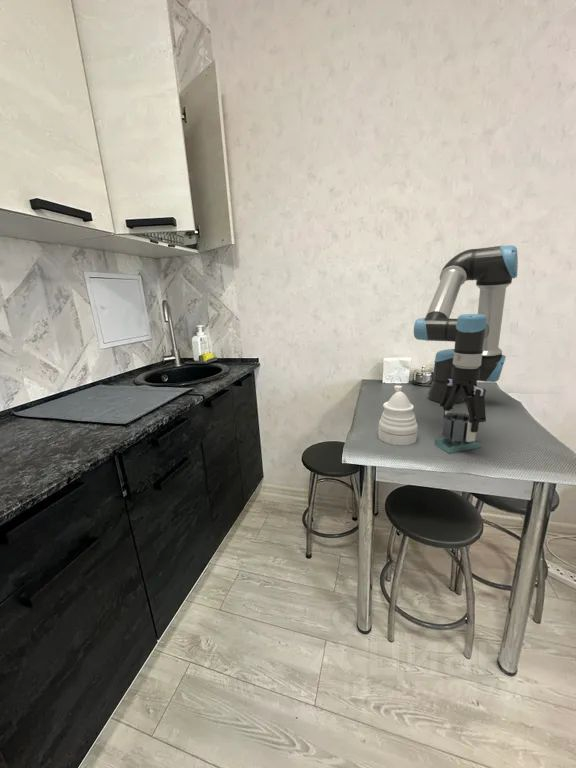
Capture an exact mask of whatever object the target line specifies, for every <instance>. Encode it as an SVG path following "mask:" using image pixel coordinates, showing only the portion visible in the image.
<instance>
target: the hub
mask: <svg viewBox="0 0 576 768" xmlns="http://www.w3.org/2000/svg"><path fill="white" fill-rule="evenodd" d="M455 419H463V420H465V421H460V420H455ZM468 421H471V420H470V416H469V414H467V413H461V412H453V413H447V414H445V416H444V415H443V422H442V423H443V425H442V434H441V435H443V436H444V437H447V438H449V439H452V440H456V441H462V442H463V441H465V442H466V435H467V427H468Z"/></svg>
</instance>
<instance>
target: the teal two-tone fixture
mask: <svg viewBox="0 0 576 768" xmlns="http://www.w3.org/2000/svg"><path fill="white" fill-rule="evenodd" d="M455 420H460V421H465V420H463V419H455ZM434 445H435V446H436V447H438V448H439V449H441V450H442V451H444V452H446V453H447V454H452V453H458V452H463V451H470V450H474V449H480V448H481V446H482V441H480V440H478V439H477V438H475V441H470V442H467V441H466V442H465V441H463V442H462V441H456V440H452V439H449V438H447V437H445V436H444V437H439V438H434Z"/></svg>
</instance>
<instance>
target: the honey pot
mask: <svg viewBox="0 0 576 768" xmlns="http://www.w3.org/2000/svg"><path fill="white" fill-rule="evenodd" d="M393 389H394V391H395V393H394V394H392V396H391V397H390V399H389V400H388V401H386V402H384V403H383V405H382V406H383V408H384V410H383V411H382V414H381V417H380V419H379V421H378V428H377V429H378V431H377V437H378V438H379V439H380V441H382V442H383V443H386V444H391V445H393V446H394V445H396V446H408V445H409V446H410V445H413V444H415V443H416V442H417V441H418V440H417V439H418V429H419V428H418V427H419V426H418V423H417V420H416V414H415V412H414V408H415V407H414V405H413V404H412V403H411V402H410V400H409V398H408V396H407V395H406V393H404V392H403V391H402V389H403V386H402V385H394V388H393Z"/></svg>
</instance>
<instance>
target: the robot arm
mask: <svg viewBox="0 0 576 768" xmlns="http://www.w3.org/2000/svg"><path fill="white" fill-rule="evenodd" d="M518 260H519V258H518V248H517V247H516V245H499V246H498V245H497V246H491V247H490V246H489V247H479V248H469V249H466V250H464V251H462V252H459V253H457V255H455V256H453V257H452V258H451V259H450V260H449V261H448V262H447V263H445V265H444V266H443V268H442V269H441V272H440V274H439V284H438V286H437V288H436V290H435V293H434V295H433V298H432V301H431V302H430V305H429V308H428V310H427V313H426V315H425V317H422V318H420V317H419V318H417V319H416V320H415V322H414V325H413V337H414V339H416V340H418V341H419V340H420V341H426V342H429V341H431V342H433V341H434V342H453V343H454V348H450V349H449V348H448V349H443V350H438V351H437V352H436V353H435V357H434V367H433V378H432V383H431V386H430V389H429V391H428V393H427V399H429V400H430V401H431V402H435V403H439V407H442V409H443V417H444V416H445V414H447V413H455V411H454V410H453V409H454V406H455V404H461V403H463V402H464V401H465V404H466V409H467V411H468V415H469V416H470V420H471V421H468V427H467V435H466V441H467V442H470V441H475V439H476V437H477V436H476V435H477V433H478V431H479V425H480V423H484V422H485V423H486V421H487V415H486V403H485V402H486V401H485V395H486V392H487V391H486V390H487V389H485V388H480V387H478V383H477V382H484V383H488V382H489V383H495V382H498V381H499V380H500V377H501V374H502V370H503V367H504V364H505V360H506V355H504V354H503V350H502V349H501V348H500V339H501V329H502V321H503V314H504V307H505V299H506V291H507V288H508V286H510V285H511V284H512V282H513V279H516V278H518V267H519V265H518V263H519V262H518ZM467 281H476V282H475V286H476V287H477V288H479V296H478V297H479V298H478V305H477V313H465V314H463V313H462V314H460V315H459V316H458V317H457V318H450V317H451V314H452V311H453V309H454V306H455V303H456V301H457V297H458V295H459V292H460V289H461V287H462V285H463V284H465V282H467Z"/></svg>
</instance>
